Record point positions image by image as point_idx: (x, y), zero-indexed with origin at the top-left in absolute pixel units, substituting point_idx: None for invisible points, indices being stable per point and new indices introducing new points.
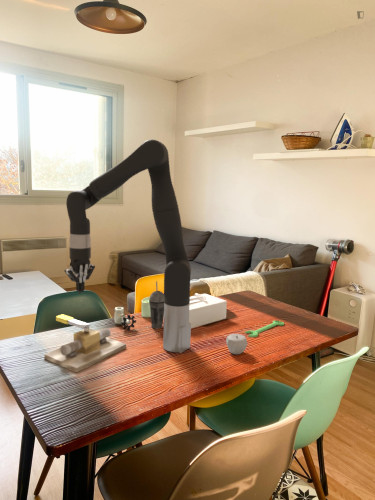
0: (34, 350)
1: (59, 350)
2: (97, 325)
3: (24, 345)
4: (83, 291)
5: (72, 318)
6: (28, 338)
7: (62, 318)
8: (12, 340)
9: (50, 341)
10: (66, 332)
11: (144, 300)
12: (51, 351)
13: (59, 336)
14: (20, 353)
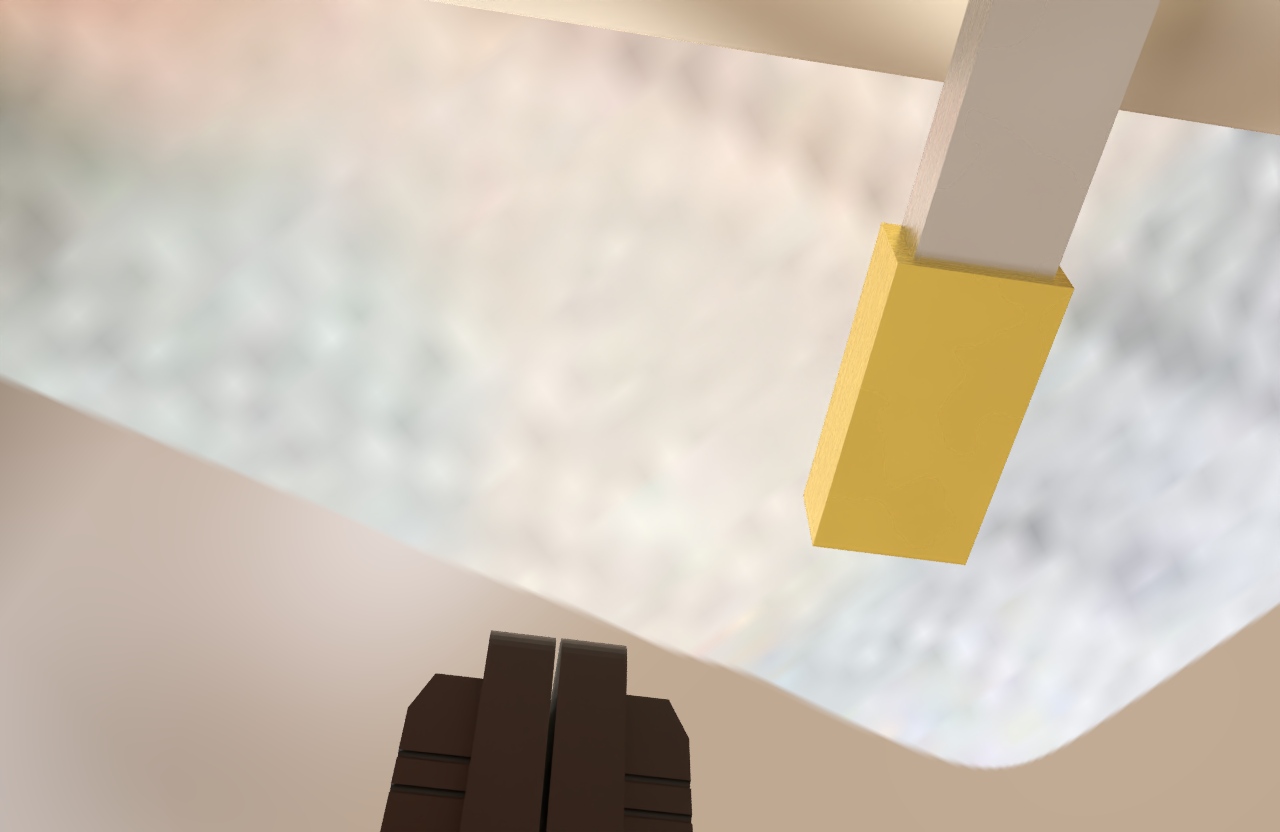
0: (1147, 392)
1: (1201, 50)
2: (27, 254)
3: (1057, 565)
4: (491, 631)
5: (930, 263)
6: (874, 651)
7: (1019, 414)
8: (985, 729)
9: None
10: (506, 441)
11: None
12: (1264, 128)
13: (658, 428)
14: (1267, 460)
